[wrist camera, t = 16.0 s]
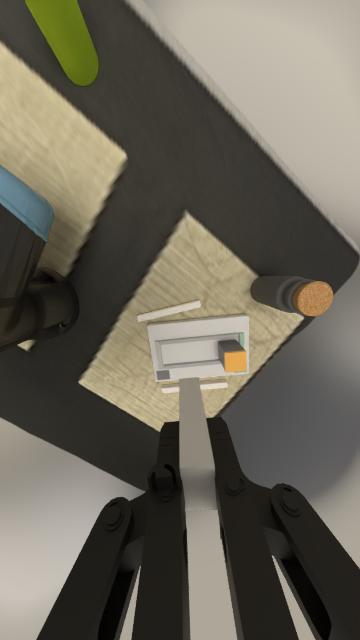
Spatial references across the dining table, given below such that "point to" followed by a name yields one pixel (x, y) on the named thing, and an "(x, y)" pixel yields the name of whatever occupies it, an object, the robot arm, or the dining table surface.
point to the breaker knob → (232, 356)
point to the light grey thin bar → (168, 311)
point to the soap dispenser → (67, 37)
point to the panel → (195, 346)
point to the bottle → (293, 294)
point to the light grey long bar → (203, 384)
